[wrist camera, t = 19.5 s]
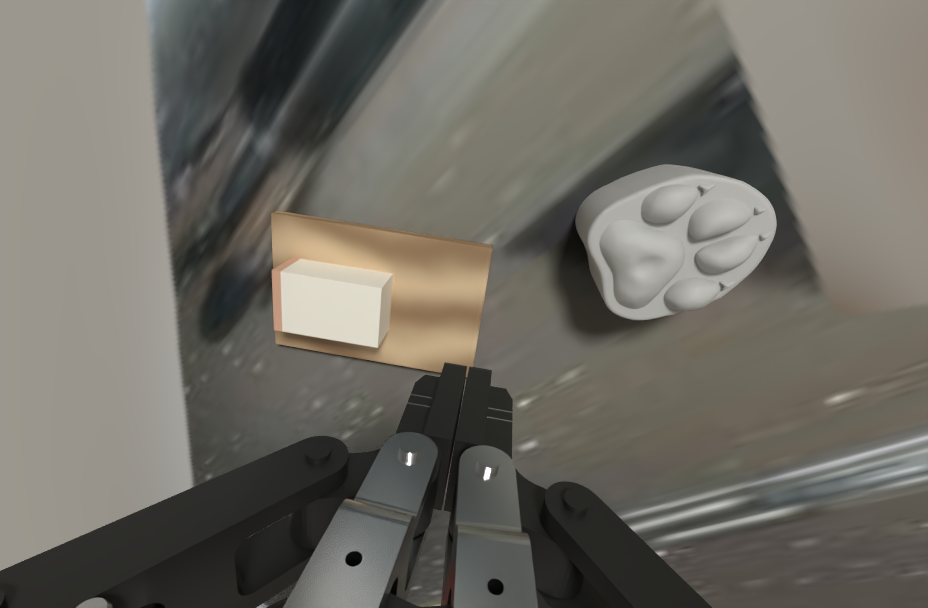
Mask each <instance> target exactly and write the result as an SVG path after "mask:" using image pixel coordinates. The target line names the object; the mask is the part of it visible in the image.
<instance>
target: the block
mask: <svg viewBox="0 0 928 608" xmlns="http://www.w3.org/2000/svg"><path fill="white" fill-rule="evenodd" d="M392 283H393V274H391V273H385V272H379V271H373V270H367V269H361V268H355V267H348V266H342V265H336V264H330V263H324V262H318V261H312V260H306V259H299V258H293V257H292V258H291V259H289V260H287V261H286V262H284V263H283V264H281V265H279V266H278V267H276V268H274V269H273V270H272V289H273V314H274V330H277V331H282V332H288V333H294V334H300V335H306V336H312V337H317V338H323V339H329V340H335V341H341V342H346V343H352V344H358V345H364V346H370V347H376V348H378V347H379V345H380V343H381V342H382V340H383V339H384V337H385V335H386V334H387V332H388V330H389V324H390V311H391V297H392Z"/></svg>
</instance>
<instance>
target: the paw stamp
mask: <svg viewBox="0 0 928 608" xmlns="http://www.w3.org/2000/svg"><path fill="white" fill-rule="evenodd" d="M575 224H576V229H577V232H578V234H579V236H580V238H581V240H582V242H583V244H584V246H585V248H586V251H587V255H588V262H589V269H590V272H591V275H592V277H593V279H594V281H595V283H596V286H597V288H598V290H599V292H600V294H601V296H602V298H603V300H604V302H605V304H606V306H607V307H608V309H609V310H610V311H612V312H613V313H614V314H616V315H618V316H620V317H623V318H627V319H631V320H650V319H654V318H659V317H663V316H668V315H673V314H677V313H681V312H684V311H692V310H697V309H700V308H702V307H704V306H706V305H708V304H709V303H710V302H712V301H714V300H716V299H719V298H720V297H722V296H724V295H725V294H726V293H728V292H729V291H730V290H731V289H733V288H734V287H735V286H736V285H738V284H739V283H740V282H741V281H742V280H743V279H744V278H745V277H747V276H748V275H749V274H750V273H751V272H752V271H753V270H754V269H755V268H756V266H757V265H758V264H759V263H760V261H761V260H762V258H763V257H764V255H765V254H766V252H767V250H768V248H769V246H770V244H771V242H772V240H773V238H774V235H775V231H776V216H775V212H774V209H773V207H772V205H771V204H770V202H769V200H768V199H767V198H766V197H765V196H764V195H763V194H761V193H760V192H759V191H758V190H756V189H755V188H753V187H752V186H750V185H748V184H746V183H745V182H742V181H740V180H736V179H733V178H729V177H726V176H722V175H718V174H714V173H711V172H707V171H703V170H699V169H695V168H691V167H685V166H678V165H659V166H655V167H651V168H648V169H645V170H641V171H638V172H636V173H633V174H630V175H627V176H625V177H622V178H620V179H618V180H616V181H614V182H612V183H610V184H608V185H605V186H603V187H601V188H599V189H598V190H596V191H594V192H593V193H592V194H590V195H589V196H588V197H587V198H586V199H585V200H584V201H583V203H582V204H581V206H580V207H579V209H578V211H577V214H576V219H575Z"/></svg>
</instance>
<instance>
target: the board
mask: <svg viewBox="0 0 928 608" xmlns="http://www.w3.org/2000/svg"><path fill="white" fill-rule="evenodd" d="M271 223H272V250H273V269H274V268H276V267H278V266H279V265H281V264H283V263H284V262H286V261H287V260H289V259H291V258H292V257H293V258H299V259H306V260H312V261H318V262H324V263H330V264H336V265H342V266H348V267H355V268H361V269H367V270H373V271H379V272H385V273H391V274H393V283H392V297H391V311H390V324H389V330H388V332H387V334H386V335H385V337H384V339H383V340H382V342H381V343H380V345H379V347H378V348H376V347H370V346H364V345H358V344H352V343H346V342H341V341H335V340H329V339H323V338H317V337H312V336H306V335H300V334H294V333H288V332H282V331H277V330H275V333H276V344H280V345H286V346H292V347H297V348H303V349H309V350H314V351H320V352H326V353H331V354H337V355H343V356H349V357H354V358H360V359H366V360H371V361H377V362H383V363H388V364H394V365H400V366H406V367H411V368H417V369H423V370H428V371H434V372H440V373H442V369H443V366H444V363H445V362H447V363H452V364H458V365H464V366H467V371H466V377H467V375H468V370H469V366H470V367H473V363H474V357H475V351H476V345H477V339H478V333H479V327H480V321H481V315H482V309H483V303H484V297H485V291H486V285H487V279H488V273H489V267H490V261H491V254H492V248H493V245H488V244H482V243H476V242H470V241H463V240H457V239H451V238H445V237H438V236H432V235H426V234H420V233H414V232H407V231H401V230H395V229H389V228H382V227H376V226H370V225H364V224H358V223H351V222H345V221H339V220H333V219H326V218H320V217H314V216H308V215H301V214H295V213H289V212H283V211H275V212H273V213H271Z"/></svg>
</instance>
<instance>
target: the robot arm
mask: <svg viewBox="0 0 928 608" xmlns="http://www.w3.org/2000/svg"><path fill="white" fill-rule="evenodd" d="M466 371H467V366H464V365H458V364H452V363H447V362H445V363H444V366H443V369H442V373H441V376H440V377H435V376H429V375H425V376H423V377H422V378H421V379H419V380H418V381H417V382H416V383H415V385H414V387H413V390H412V393H411V395H410V398H409V400H408V404H407V406H406V408H405V411H404V413H403V416H402V419H401V421H400V424H399V426H398V429H397V431H396V434H395V435H393V436H391V437H390V438H388V439H387V440H386V441H385V442H384V444H383V446H382V448H381V449H378V450H375V451H371V452H365V453H348V449H347V447H346V445H345V444H344V443H343V442H342V441H340V440H338V439H336V438H333V437H329V436H315V437H310V438H307V439H304V440H302V441H299V442H297V443H295V444H292V445H290V446H288V447H286V448H283V449H281V450H279V451H276V452H274V453H272V454H269V455H267V456H265V457H262V458H260V459H258V460H255V461H253V462H251V463H249V464H246V465H244V466H242V467H239V468H237V469H235V470H232V471H230V472H228V473H225V474H223V475H221V476H219V477H216V478H214V479H212V480H209V481H207V482H205V483H202V484H200V485H198V486H195V487H193V488H191V489H188V490H186V491H184V492H182V493H179V494H177V495H175V496H172V497H170V498H168V499H165V500H163V501H161V502H159V503H156V504H154V505H152V506H149V507H147V508H145V509H142V510H140V511H138V512H135V513H133V514H131V515H128V516H126V517H124V518H121V519H119V520H117V521H115V522H112V523H110V524H108V525H105V526H103V527H101V528H98V529H96V530H94V531H91V532H90V533H87V534H85V535H82V536H80V537H78V538H75V539H73V540H71V541H68V542H66V543H64V544H61V545H59V546H57V547H55V548H52V549H50V550H48V551H45V552H43V553H41V554H38V555H36V556H34V557H32V558H29V559H27V560H24V561H22V562H20V563H18V564H15V565H13V566H11V567H8V568H6V569H4V570H1V571H0V608H256V607H258V606H259V605H261V604H262V603H264V602H265V601H267V600H268V599H270V598H271V597H273V596H274V595H276V594H277V593H279V592H280V591H282V590H283V589H285V588H287V587H288V586H290V585H291V584H293V583H294V582H296V581H297V580H298V581H297V583H296V585H295V587H294V589H293V590H292V592H291V594H290V596H289V597H288V598H286V599H283V600H281V601H279V602H276V603H274V604H272V605H270V606H269V607H267V608H712V607H711V606H710V605H709V604H708V603H707V602H706V601H705V600H704V599H703V598H702V597H701V596H700V595H699V594H698V593H697V592H696V591H695V590H693V589H692V588H691V587H690V586H689V585H688V584H687V583H686V582H685V581H684V580H683V579H682V578H681V577H680V576H679V575H678V574H677V573H676V572H675V571H674V570H673V569H672V568H671V567H670V566H669V565H668V564H667V563H666V562H665V561H664V560H663V559H662V558H660V557H659V556H658V555H657V554H656V553H655V552H654V551H653V550H652V549H651V548H650V547H649V546H648V545H647V544H646V543H645V542H644V541H643V540H642V539H641V538H640V537H639V536H638V535H637V534H636V533H635V532H634V531H633V530H632V529H631V528H630V527H629V526H628V525H626V524H625V523H624V522H623V521H622V520H621V519H620V518H619V517H618V516H617V515H616V514H615V513H614V512H613V511H612V510H611V509H610V508H609V507H608V506H607V505H606V504H605V503H604V502H603V501H602V500H601V499H600V498H599V497H598V496H597V495H596V494H594V493H593V492H592V491H591V490H589V489H588V488H586V487H584V486H582V485H579V484H577V483H573V482H558V483H555V484H553V485H551V486H550V487H549V488H548V489H544V488H542V487H540V486H538V485H536V484H534V483H532V482H530V481H528V480H527V479H525V478H524V477H523V476H522V475H521V474H520V473H519V472H518V471H517V470H516V468H515V465H514V462H513V461H512V402H513V400H512V398H511V396H510V395H509V393H508V391H507V390H506V389H504V388H498V387H492V386H490V383H491V373H492V370H487V369H482V368H476V367H470V366H469V370H468V375H467V381H466V386H465V391H464V396H463V390H464V384H465V378H466ZM462 397H463V401H462ZM461 403H462V407H461ZM460 409H461V412H460ZM459 415H460V417H459ZM458 421H459V422H458ZM457 426H458V427H457ZM456 431H457V433H456ZM455 437H456V438H455ZM454 442H455V443H454ZM453 447H454V450H453ZM452 452H453V456H452ZM451 457H452V462H451ZM450 463H451V469H450V475H449V481H448V488H447V494H446V500H445V506H444V510H445V511H450V512H451V515H450V521H449V527H448V533H447V539H446V550H445V562H444V575H443V587H442V599H441V606H431V607H419V606H416V605H413V604H411V603H409V602H407V601H406V599H407V596H408V593H409V589H410V586H411V583H412V580H413V577H414V573H415V570H416V567H417V564H418V560H419V557H420V554H421V551H422V547H423V544H424V541H425V538H426V533H427V528H428V526H429V524H430V522H431V518H432V513H433V509H438V510H441V509H442V504H443V499H444V494H445V488H446V483H447V478H448V473H449V468H450ZM287 515H289V516H287ZM286 516H287V517H286ZM284 517H285V518H284ZM282 518H283V519H282ZM280 519H282V520H280ZM278 520H280V521H278ZM276 521H278V522H276ZM274 522H276V523H274ZM273 523H274V524H273ZM271 524H272V525H271ZM269 525H271V526H269ZM267 526H269V527H267ZM265 527H267V528H265ZM263 528H265V529H263ZM262 529H263V530H262ZM260 530H261V531H260ZM258 531H259V532H258ZM256 532H258V533H256ZM254 533H256V534H254ZM252 534H254V535H252ZM251 535H252V536H251ZM249 536H250V537H249ZM246 538H247V539H246Z"/></svg>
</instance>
